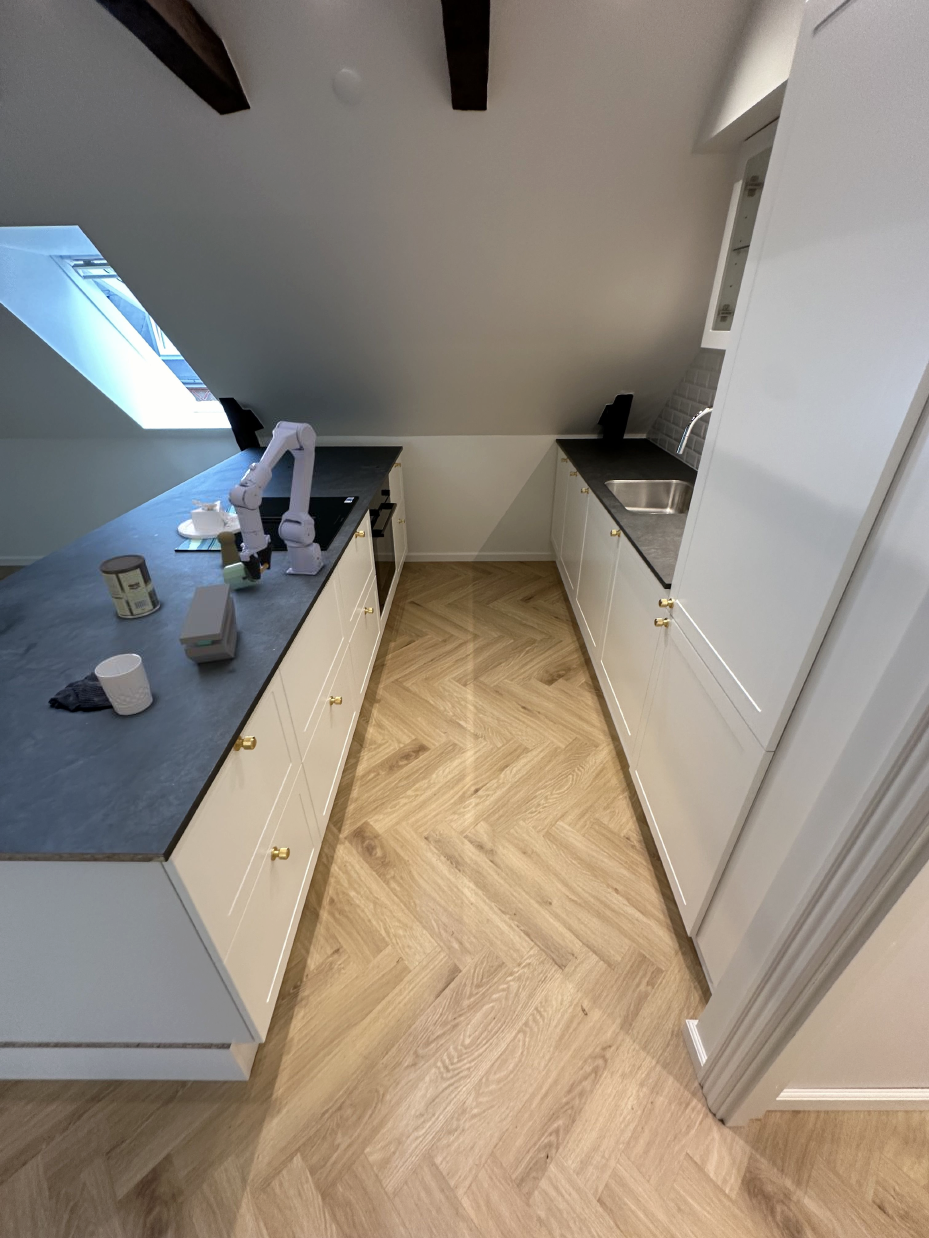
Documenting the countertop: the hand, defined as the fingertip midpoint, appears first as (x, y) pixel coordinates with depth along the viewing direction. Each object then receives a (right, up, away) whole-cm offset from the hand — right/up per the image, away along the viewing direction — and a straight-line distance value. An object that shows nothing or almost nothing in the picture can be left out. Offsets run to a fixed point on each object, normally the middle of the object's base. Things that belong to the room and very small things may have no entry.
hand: (261, 574), depth 148 cm
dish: (-37, +22, +48) cm, 65 cm away
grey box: (-1, -20, -24) cm, 31 cm away
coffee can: (-30, -11, -8) cm, 33 cm away
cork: (-16, +4, +18) cm, 25 cm away
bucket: (-10, -1, +2) cm, 10 cm away
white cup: (-9, -31, -43) cm, 54 cm away
